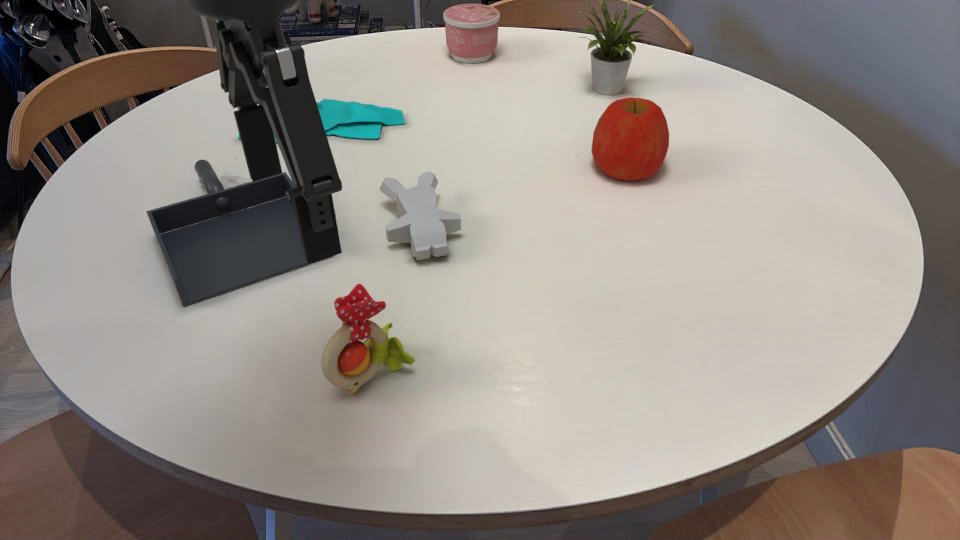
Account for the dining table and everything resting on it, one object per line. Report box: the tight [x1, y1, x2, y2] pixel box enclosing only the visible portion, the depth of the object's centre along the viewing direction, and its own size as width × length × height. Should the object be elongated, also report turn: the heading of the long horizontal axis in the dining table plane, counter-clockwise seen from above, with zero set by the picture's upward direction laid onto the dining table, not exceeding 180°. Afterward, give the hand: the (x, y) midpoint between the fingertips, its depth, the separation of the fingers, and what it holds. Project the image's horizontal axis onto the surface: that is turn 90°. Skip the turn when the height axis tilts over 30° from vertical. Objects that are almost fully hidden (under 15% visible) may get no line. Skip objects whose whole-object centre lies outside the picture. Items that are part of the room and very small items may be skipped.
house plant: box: [577, 0, 658, 96], centre depth 118 cm, size 14×14×16 cm
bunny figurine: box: [379, 171, 462, 261], centre depth 90 cm, size 10×5×15 cm
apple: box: [591, 96, 670, 182], centre depth 99 cm, size 11×11×11 cm
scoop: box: [146, 159, 309, 308], centre depth 91 cm, size 27×18×4 cm
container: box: [442, 3, 501, 64], centre depth 131 cm, size 10×10×8 cm
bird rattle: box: [320, 283, 416, 394], centre depth 68 cm, size 6×11×9 cm
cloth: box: [237, 98, 406, 144], centre depth 113 cm, size 26×14×2 cm, turn 93°
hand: (293, 213), depth 58 cm, fingers open, 13 cm apart
